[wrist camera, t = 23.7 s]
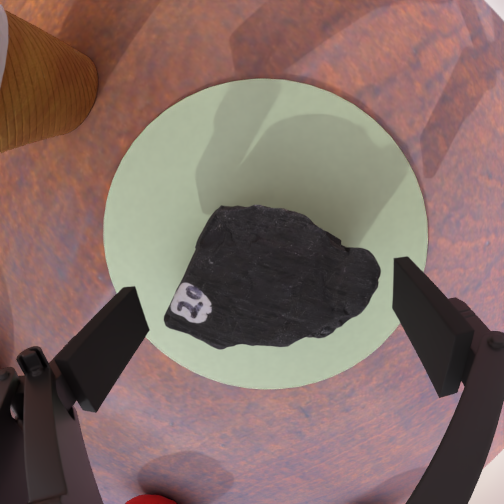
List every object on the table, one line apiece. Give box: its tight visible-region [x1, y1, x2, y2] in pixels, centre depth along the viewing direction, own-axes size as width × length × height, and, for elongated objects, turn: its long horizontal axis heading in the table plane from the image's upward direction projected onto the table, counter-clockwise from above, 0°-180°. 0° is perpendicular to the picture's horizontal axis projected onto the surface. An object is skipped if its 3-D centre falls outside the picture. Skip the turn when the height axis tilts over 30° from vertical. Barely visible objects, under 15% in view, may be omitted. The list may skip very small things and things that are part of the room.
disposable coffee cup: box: [0, 5, 98, 153], centre depth 11 cm, size 10×10×12 cm
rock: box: [164, 205, 381, 350], centre depth 17 cm, size 9×10×6 cm
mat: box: [104, 78, 428, 389], centre depth 20 cm, size 22×22×1 cm
